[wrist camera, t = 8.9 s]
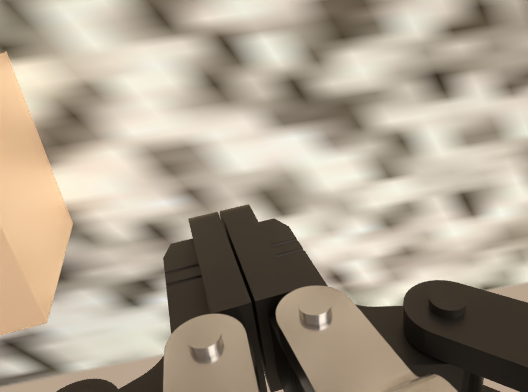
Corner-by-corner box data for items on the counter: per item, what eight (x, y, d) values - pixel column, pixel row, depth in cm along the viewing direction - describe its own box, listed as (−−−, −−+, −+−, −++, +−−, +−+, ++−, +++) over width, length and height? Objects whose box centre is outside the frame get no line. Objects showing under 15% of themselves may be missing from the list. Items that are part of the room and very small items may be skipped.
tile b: (-39, 58, 17) (-138, 100, 11) (6, 51, 17) (-66, 88, 11) (36, 232, 21) (-5, 336, 14) (73, 223, 21) (46, 322, 15)
